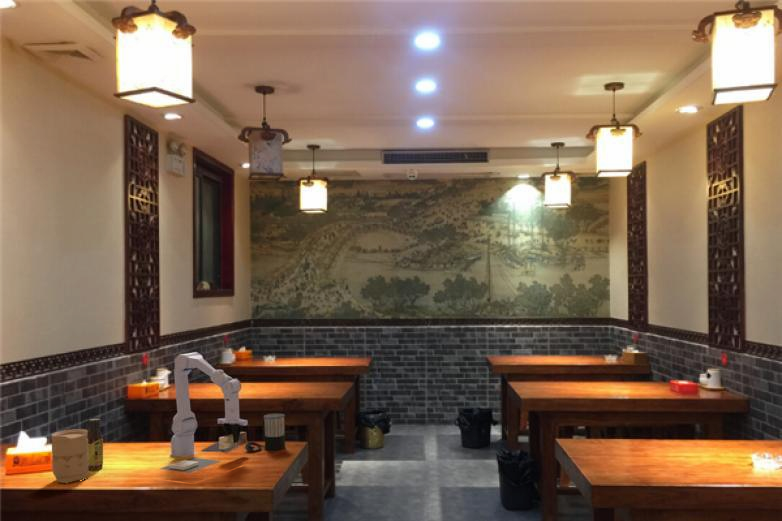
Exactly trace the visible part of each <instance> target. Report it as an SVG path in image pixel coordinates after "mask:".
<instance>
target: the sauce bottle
mask: <svg viewBox="0 0 782 521" xmlns="http://www.w3.org/2000/svg"><path fill="white" fill-rule="evenodd" d="M88 423H89V432H87V434H88V435H87V439H88V471H95V470H96V471H97V470H100V469H102V468H103V464H104V438H103V435H102V433H101V428H100V425H101V419H100V418H92V419H91V418H90V419H89V422H88Z"/></svg>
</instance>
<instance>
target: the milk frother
mask: <svg viewBox="0 0 782 521" xmlns="http://www.w3.org/2000/svg"><path fill="white" fill-rule="evenodd" d="M285 416H286V415H285V414H284V413H267V414H265V415H263V419H262V421H261V422H262V437H263V438H262V439H263V441H264V445H262V444H259V443H258V442H255V441H249V442H248V441H247V443H245V446H244V447H245V450H246V451H247V452H250V453H258V452H261V450H262V448H264V450H265V451H266V452H267V451H268V452H278V451H282V450H285V449H286V448H287V447H286V443H285V442H286V441H285ZM256 447H257V449H255V448H256Z"/></svg>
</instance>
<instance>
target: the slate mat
mask: <svg viewBox="0 0 782 521" xmlns="http://www.w3.org/2000/svg"><path fill="white" fill-rule="evenodd" d="M186 460H187V461H196V462H199V465H198V466H196V467H193V468H190V469H187V470H177V469H170V468H169V465H166V466H162V467H161V468H160V467H159V469H160V470H165V471H166V470H167V471H175V472H183V473H192V472H196V471H198V470H201V469H204V468H207V467H210V466H212V465H215V464H217V463H220V462H222V460H215V459H207V458H198V457H191V458H188V459H186Z"/></svg>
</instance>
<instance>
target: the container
mask: <svg viewBox="0 0 782 521" xmlns="http://www.w3.org/2000/svg"><path fill="white" fill-rule="evenodd" d="M87 435H88V430H87V429H82V428H81V429H80V428H77V429H73V428H72V429H65V430H60V431H56V432H53V433H51V455H52V457H51V465H52V467H51V468H52V474H53V476H54V478H55V479H56V481H57V483H59V482H60V483H59V484H63V483H69V482H71V483H73V482H77V481H79V480H83V479H85V478H87V479H88V478H89V470H88V439H87ZM76 480H77V481H76Z"/></svg>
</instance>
